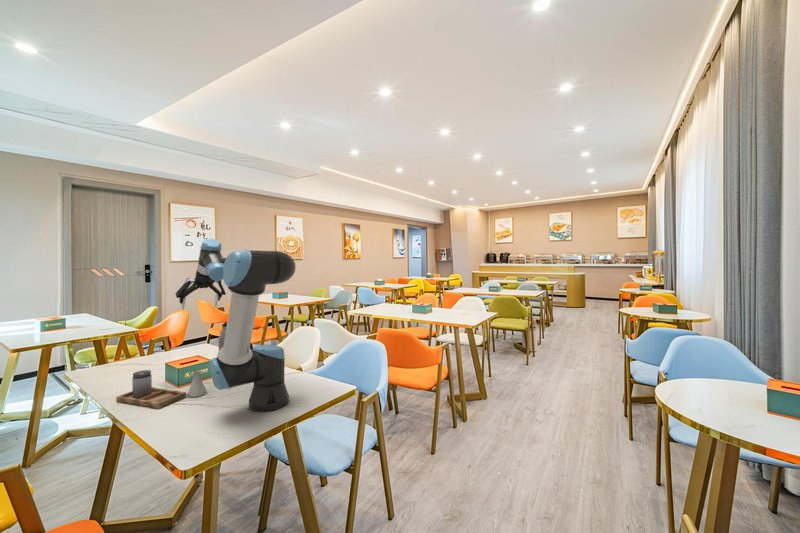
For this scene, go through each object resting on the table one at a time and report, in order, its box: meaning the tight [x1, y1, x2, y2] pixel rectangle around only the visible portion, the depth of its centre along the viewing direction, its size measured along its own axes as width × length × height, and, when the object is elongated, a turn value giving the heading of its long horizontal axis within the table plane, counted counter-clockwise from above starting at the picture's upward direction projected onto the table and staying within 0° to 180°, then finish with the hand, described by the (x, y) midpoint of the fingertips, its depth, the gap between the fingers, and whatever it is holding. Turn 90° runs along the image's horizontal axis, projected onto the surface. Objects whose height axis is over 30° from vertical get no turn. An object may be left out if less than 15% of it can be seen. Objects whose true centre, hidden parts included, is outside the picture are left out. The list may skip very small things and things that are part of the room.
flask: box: [186, 370, 208, 399], centre depth 144 cm, size 7×7×10 cm
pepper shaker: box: [131, 369, 153, 399], centre depth 140 cm, size 6×6×10 cm
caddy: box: [115, 386, 187, 410], centre depth 139 cm, size 23×12×2 cm, turn 73°
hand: (199, 306), depth 159 cm, fingers open, 13 cm apart
